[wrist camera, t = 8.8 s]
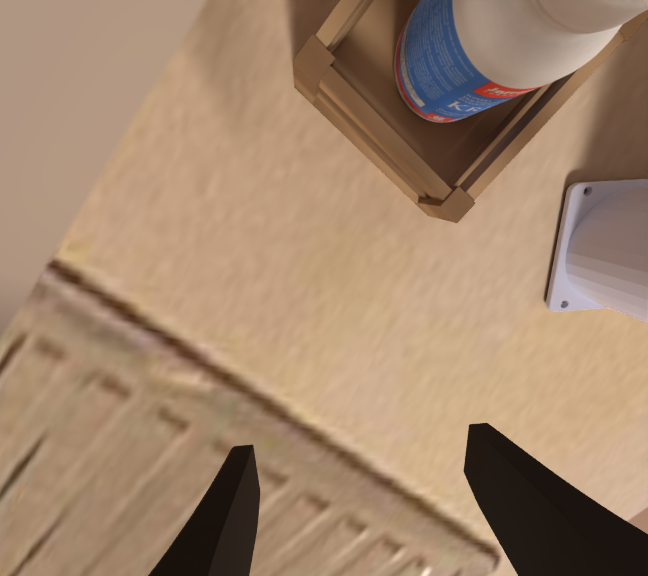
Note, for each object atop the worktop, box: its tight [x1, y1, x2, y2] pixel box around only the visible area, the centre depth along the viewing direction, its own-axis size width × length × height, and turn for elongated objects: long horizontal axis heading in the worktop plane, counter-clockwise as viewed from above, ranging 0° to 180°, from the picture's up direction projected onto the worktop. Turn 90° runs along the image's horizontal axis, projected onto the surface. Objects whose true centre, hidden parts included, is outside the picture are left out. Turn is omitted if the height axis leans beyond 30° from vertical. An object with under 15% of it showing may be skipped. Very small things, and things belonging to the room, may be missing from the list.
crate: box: [293, 0, 648, 223], centre depth 14 cm, size 11×10×4 cm
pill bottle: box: [394, 0, 648, 123], centre depth 11 cm, size 6×5×10 cm
